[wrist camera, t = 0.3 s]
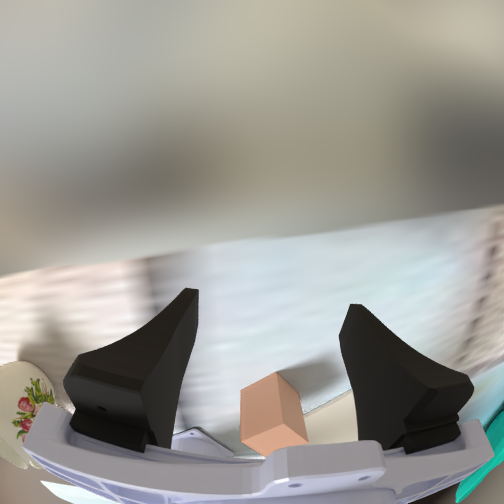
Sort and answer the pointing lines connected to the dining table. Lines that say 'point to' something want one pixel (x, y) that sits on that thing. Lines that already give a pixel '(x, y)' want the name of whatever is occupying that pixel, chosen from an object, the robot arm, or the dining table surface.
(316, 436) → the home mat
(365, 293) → the dining table surface
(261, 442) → the block
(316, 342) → the dining table surface
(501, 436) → the table top decor
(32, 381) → the pitcher
